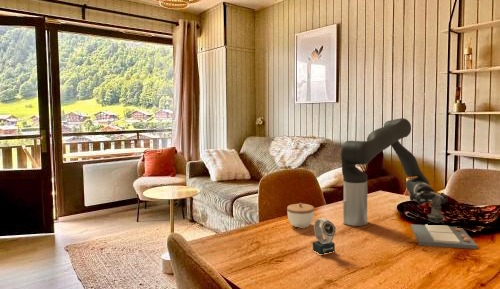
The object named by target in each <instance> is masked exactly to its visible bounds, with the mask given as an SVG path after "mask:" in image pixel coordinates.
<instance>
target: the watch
mask: <svg viewBox="0 0 500 289" xmlns="http://www.w3.org/2000/svg"><path fill="white" fill-rule="evenodd" d="M313 229H314V230H313V231H314V234H315V238H316V241H313V242H312V251H313V250H314V251H316V252H318V253H319V254H324V253H329V252H333V251H335V252H336V250H335V246H336V244H335V242H334V238H335V234H336V226H335V224H334V223H333V222H332V221H330V220H329V219H327V218H325V217H322V218H317V219H316V220H315V221H314V224H313Z"/></svg>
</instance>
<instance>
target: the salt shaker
mask: <svg viewBox="0 0 500 289" xmlns="http://www.w3.org/2000/svg"><path fill="white" fill-rule="evenodd" d="M430 207H431V212H430V213H428V214H427V217H428V220H429V221H430V222H434V223H440V222H441V223H442V222H444V219H445V215H443V214H442V213H441V212H442V211H441V208H442V206H441V203H440V198H439V197H437V195H435V197H433V198H432V201H431V205H430Z"/></svg>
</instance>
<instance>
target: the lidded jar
mask: <svg viewBox="0 0 500 289" xmlns="http://www.w3.org/2000/svg"><path fill="white" fill-rule="evenodd" d="M286 212H287V218H288V221H289V223H290V225H292V226H295V227H302V228H303V229H305V228H304V227H307V228H309V227H308V226H310V225H311V224H312V223H313V220H314V215H315V207H314V206H313V205H311V204H308V203H302V202H299V203H293V204H289V205H287V208H286ZM295 227H294V228H295Z"/></svg>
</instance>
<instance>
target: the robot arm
mask: <svg viewBox="0 0 500 289" xmlns="http://www.w3.org/2000/svg"><path fill="white" fill-rule="evenodd" d="M411 132H412V125H411V123H410V121H409V120H408V119H407V118H403V117H402V118H401V117H400V118H395V119H390V120H387V121H385V122H384V124H383V126H382V127H379V128H377V129H375V130H372V131H371V132H370V133H369V134H368V135H367V137H366V141H365V140H345V141H344V142H343V143H342V145H341V151H340V155H341V157H340V158H341V173H342V174H341V175H342V177H343V178H342V179H343V181H342V182H343V201H342V202H343V208H342V209H343V213H342V214H343V225H349V226H353V227H357V226H358V227H362V226H366V225H368V218H369V217H368V174H367V173H366V172H364V171H362V170H361V169H359V168H358V167H357V165H361V166H362V165H366V164H369V163H370V162H371V161H372V160H373V159H374V158H375V157H376V156H377V155H378V154H380V153H381V152H383V151H385V150H386V149H387V148H389V147H391V148H392V149H393V151H394V152H395V154H396V156H397V157H398V160H399V161H400V163H401V167H402V169H403V172H404V174H405V175H406V176H407V177H409V178H410V177H413V178H410V179H408V180H406V183H405V188H406V190H407V191H408V192H409V194H408V195H409V196H408V198H409V200H410V201H412V202H413V201H415V202H416V203H418V204H421V203H430V202H432V198H433V197H435V195H437V197H439V198H440V205H444V204H445V203H447V202H448V195H447V194H446V193H444V192H440V193H437V192H435V191H434V189H433V188H432V187H431V186H430V182H429V181H430V180H428V178H427V177H426V176H425V175H424V174H423V172H422V170H421V168H420V166H419V163H418V160H417V158H416V157H415V156H414V154H413V153H412V152H411V151H410V150H408V149H407V148H406V147H405V146H403V144H402V143H401V142H400V140H401V139H402V140H403V139H404V138H407V137H408V136H409V135H410V134H411Z"/></svg>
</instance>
